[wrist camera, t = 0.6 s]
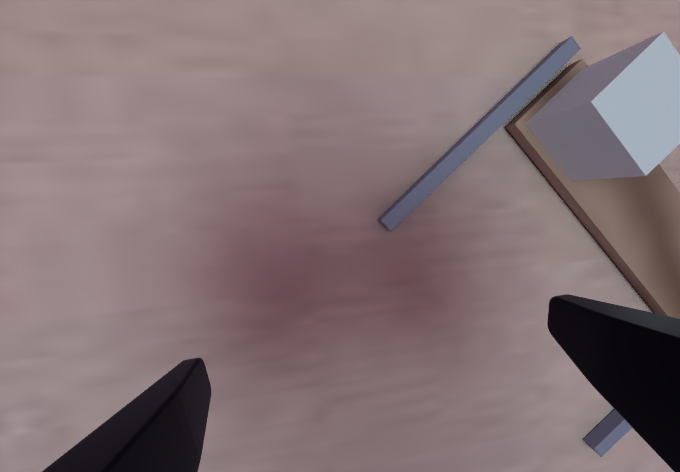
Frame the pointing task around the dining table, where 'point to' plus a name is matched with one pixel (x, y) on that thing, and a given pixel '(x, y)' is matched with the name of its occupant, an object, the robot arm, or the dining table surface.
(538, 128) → the light blue-gray cube
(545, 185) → the dining table surface
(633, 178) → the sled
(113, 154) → the dining table surface
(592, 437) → the lane rails
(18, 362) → the dining table surface
